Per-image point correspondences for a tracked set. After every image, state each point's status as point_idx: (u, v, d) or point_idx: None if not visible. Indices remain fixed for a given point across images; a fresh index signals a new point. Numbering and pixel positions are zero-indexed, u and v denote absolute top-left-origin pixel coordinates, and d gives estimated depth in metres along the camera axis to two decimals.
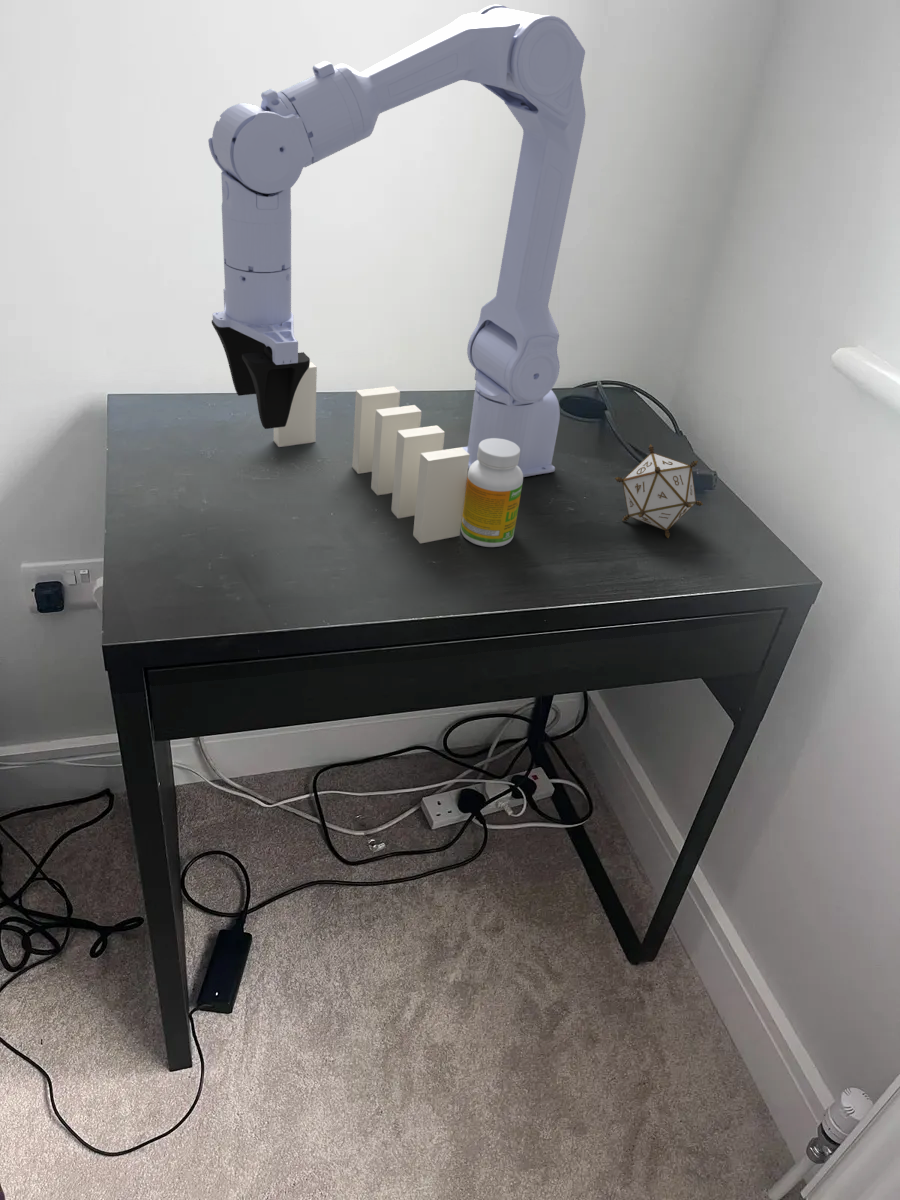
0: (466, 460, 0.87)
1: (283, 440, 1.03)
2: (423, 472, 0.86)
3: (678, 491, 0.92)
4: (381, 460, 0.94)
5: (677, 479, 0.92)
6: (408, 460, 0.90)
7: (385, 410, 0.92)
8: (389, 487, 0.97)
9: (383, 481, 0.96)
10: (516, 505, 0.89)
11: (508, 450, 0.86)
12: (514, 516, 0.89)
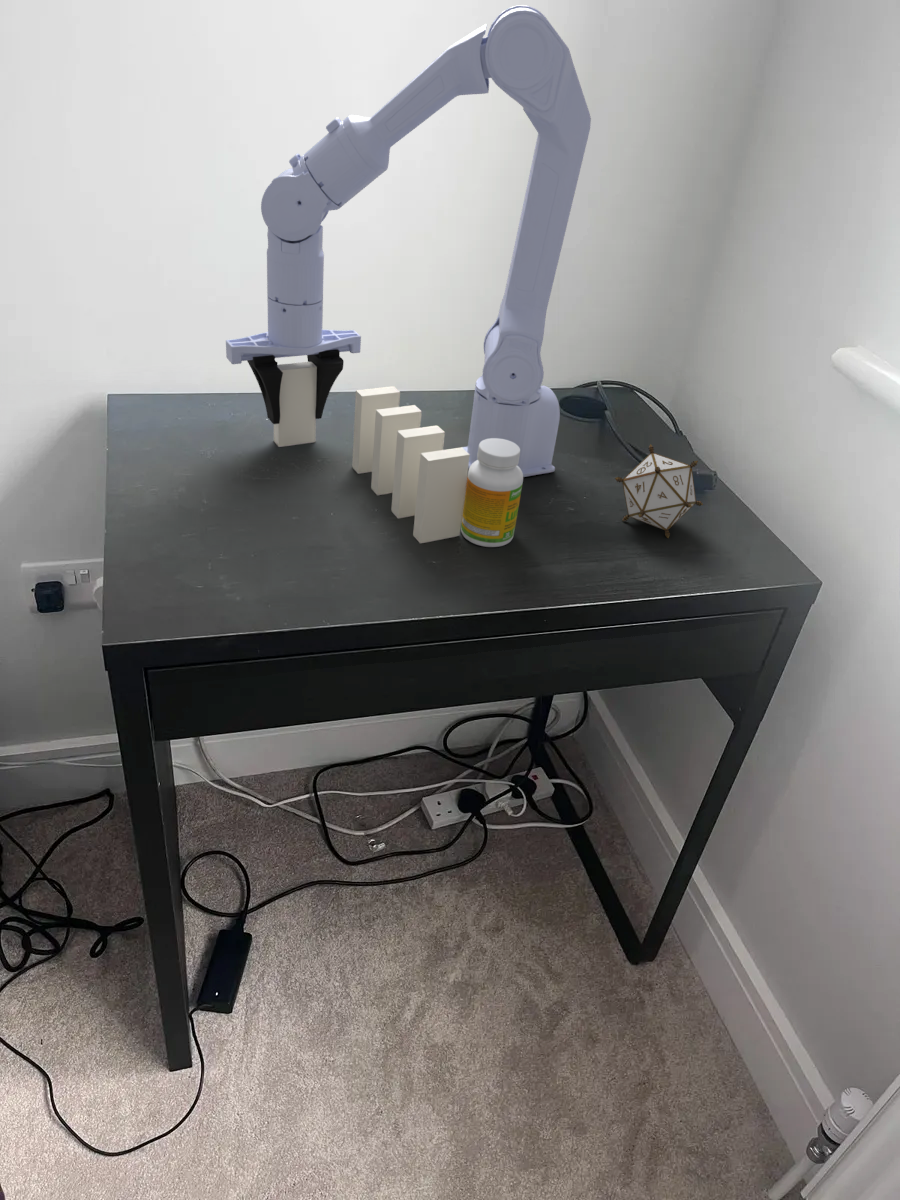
0: (466, 460, 0.87)
1: (283, 440, 1.03)
2: (423, 472, 0.86)
3: (678, 491, 0.92)
4: (381, 460, 0.94)
5: (677, 479, 0.92)
6: (408, 460, 0.90)
7: (385, 410, 0.92)
8: (389, 487, 0.97)
9: (383, 481, 0.96)
10: (516, 505, 0.89)
11: (508, 450, 0.86)
12: (514, 516, 0.89)
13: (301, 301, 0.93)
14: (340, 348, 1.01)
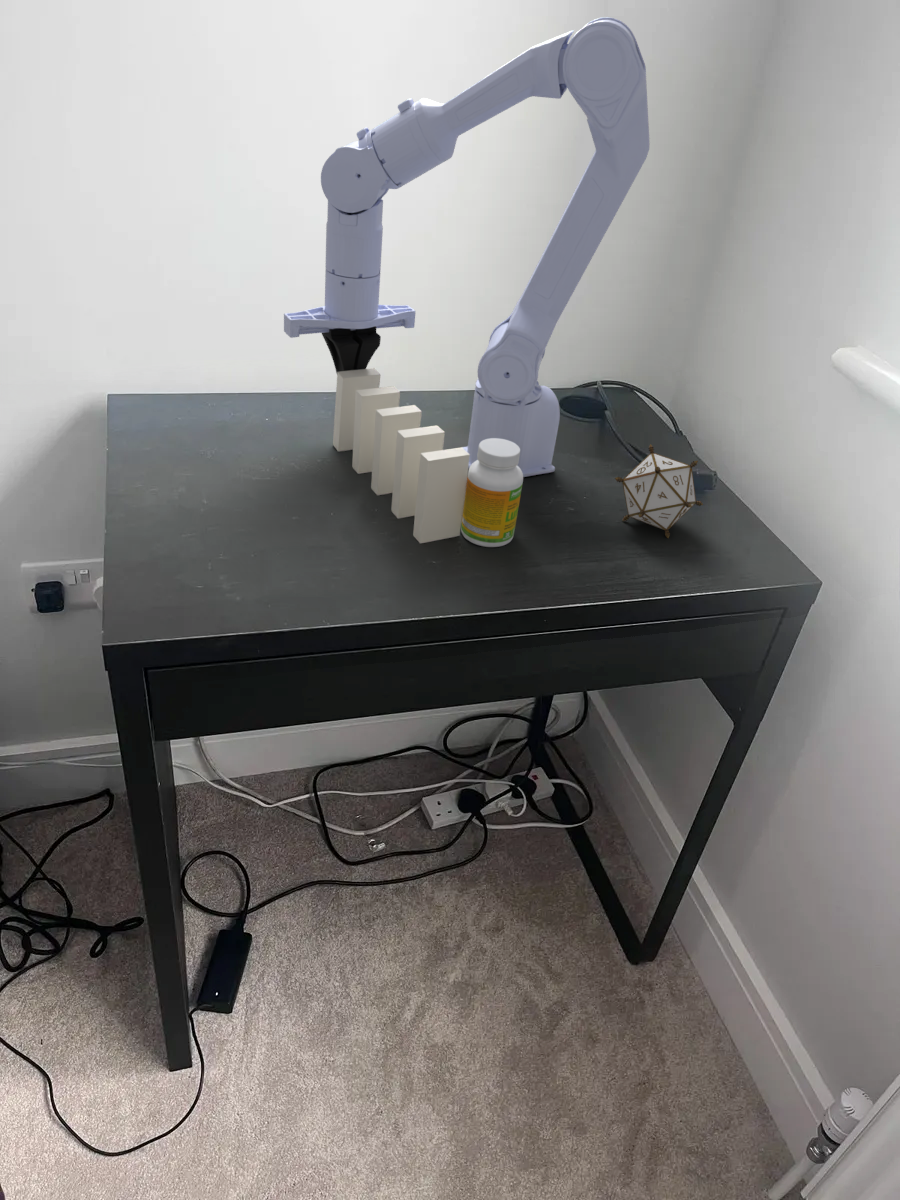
0: (466, 460, 0.87)
1: (343, 445, 1.03)
2: (423, 472, 0.86)
3: (678, 491, 0.92)
4: (381, 460, 0.94)
5: (677, 479, 0.92)
6: (408, 460, 0.90)
7: (385, 410, 0.92)
8: (389, 487, 0.97)
9: (383, 481, 0.96)
10: (516, 505, 0.89)
11: (508, 450, 0.86)
12: (514, 516, 0.89)
13: (357, 274, 0.93)
14: (394, 323, 1.01)
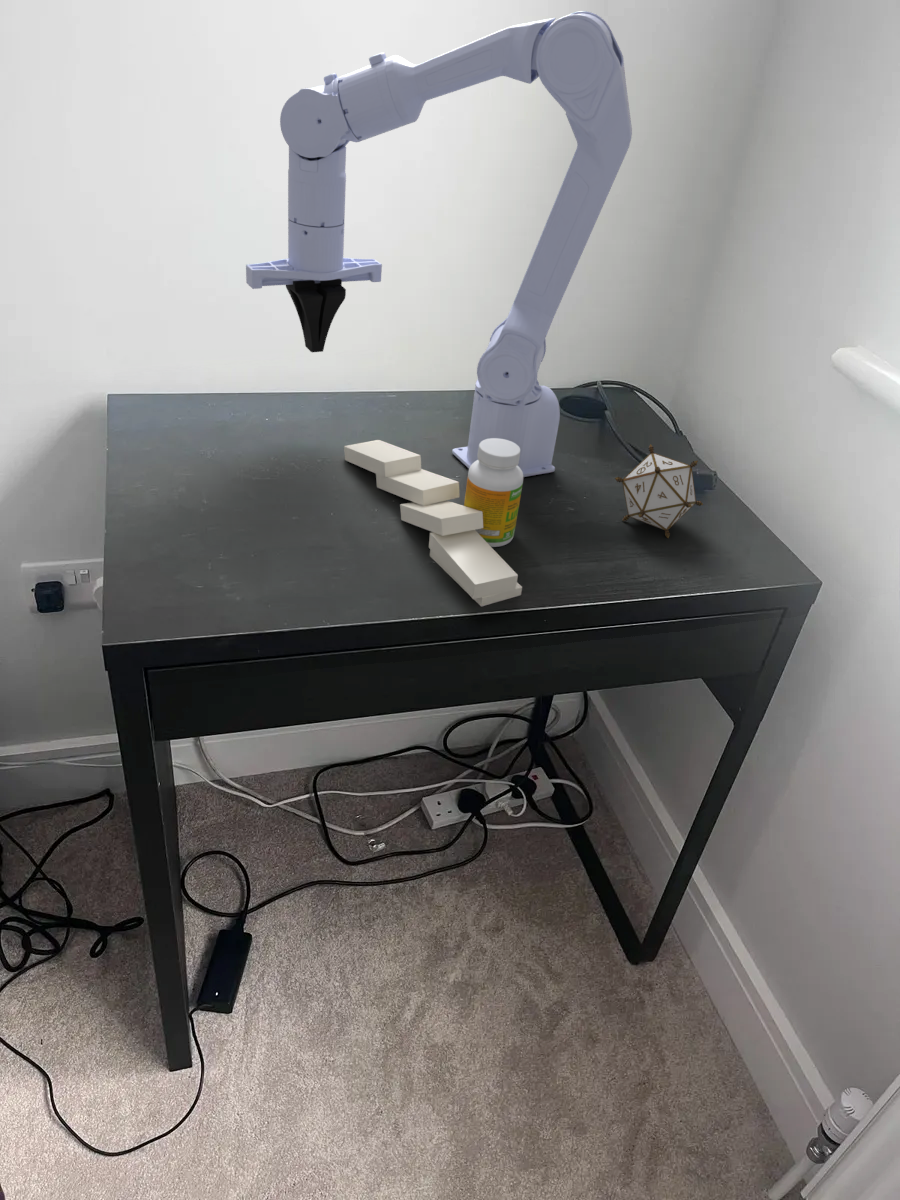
0: None
1: None
2: None
3: (678, 491, 0.92)
4: None
5: (677, 479, 0.92)
6: None
7: (450, 522, 0.85)
8: None
9: None
10: (516, 505, 0.89)
11: (509, 450, 0.86)
12: (514, 516, 0.89)
13: (319, 223, 0.91)
14: (361, 277, 0.99)
